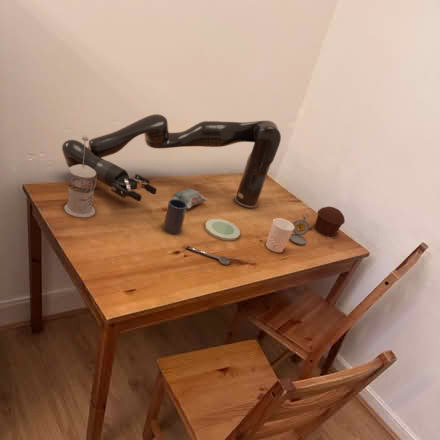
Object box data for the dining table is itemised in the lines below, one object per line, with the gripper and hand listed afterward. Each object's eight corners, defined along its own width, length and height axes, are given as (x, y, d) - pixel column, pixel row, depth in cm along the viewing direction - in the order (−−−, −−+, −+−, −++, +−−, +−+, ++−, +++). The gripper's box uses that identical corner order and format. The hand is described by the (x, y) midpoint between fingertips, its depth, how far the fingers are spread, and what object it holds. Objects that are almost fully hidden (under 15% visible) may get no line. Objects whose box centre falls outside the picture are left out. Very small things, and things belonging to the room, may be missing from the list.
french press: (57, 208, 140) (60, 133, 125) (79, 197, 149) (85, 125, 134) (83, 220, 139) (89, 145, 124) (104, 208, 148) (112, 137, 133)
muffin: (337, 228, 185) (347, 208, 179) (338, 241, 176) (349, 220, 170) (311, 220, 185) (320, 199, 179) (310, 232, 176) (320, 210, 170)
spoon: (186, 245, 144) (187, 242, 143) (230, 260, 144) (231, 258, 143) (183, 250, 141) (184, 248, 140) (228, 266, 141) (229, 264, 140)
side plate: (209, 217, 163) (210, 214, 162) (242, 228, 163) (242, 226, 162) (201, 232, 153) (201, 230, 152) (235, 244, 152) (236, 242, 152)
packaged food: (206, 205, 170) (208, 193, 167) (187, 212, 161) (190, 201, 158) (188, 195, 173) (191, 184, 170) (169, 202, 164) (172, 190, 161)
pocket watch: (294, 246, 163) (304, 223, 157) (283, 233, 168) (292, 211, 162) (311, 245, 167) (321, 223, 161) (299, 233, 173) (308, 211, 167)
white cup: (286, 246, 161) (296, 223, 155) (282, 256, 155) (292, 232, 149) (266, 238, 162) (275, 215, 156) (261, 247, 156) (271, 224, 150)
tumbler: (166, 222, 152) (171, 197, 146) (183, 228, 152) (189, 203, 146) (160, 230, 147) (166, 204, 141) (177, 236, 147) (184, 210, 141)
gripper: (97, 169, 142) (137, 190, 138) (125, 160, 153) (162, 180, 149) (95, 189, 147) (133, 211, 143) (122, 179, 157) (158, 199, 154)
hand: (148, 195), depth 146 cm, fingers open, 8 cm apart
